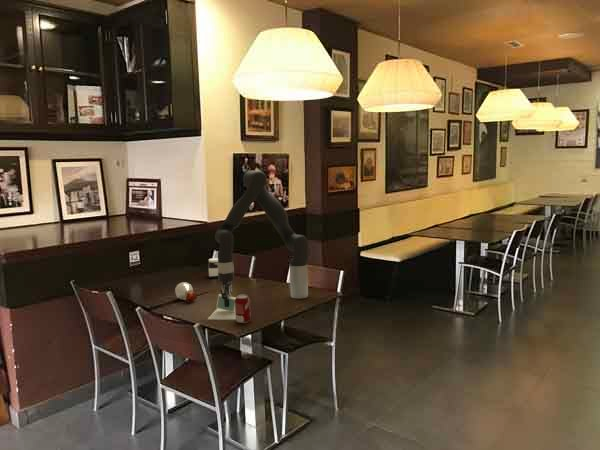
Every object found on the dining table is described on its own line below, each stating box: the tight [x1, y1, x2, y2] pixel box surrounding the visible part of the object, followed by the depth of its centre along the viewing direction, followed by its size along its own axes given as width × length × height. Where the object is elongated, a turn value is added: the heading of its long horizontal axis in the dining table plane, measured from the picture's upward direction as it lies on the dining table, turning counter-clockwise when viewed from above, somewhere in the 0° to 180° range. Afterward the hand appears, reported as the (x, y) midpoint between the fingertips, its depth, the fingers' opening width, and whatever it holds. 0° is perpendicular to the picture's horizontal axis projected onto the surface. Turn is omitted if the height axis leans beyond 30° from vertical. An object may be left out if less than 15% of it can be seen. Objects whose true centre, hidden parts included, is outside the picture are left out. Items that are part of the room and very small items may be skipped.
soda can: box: [235, 294, 252, 324], centre depth 222 cm, size 7×7×12 cm
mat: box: [207, 308, 236, 321], centre depth 234 cm, size 16×14×1 cm
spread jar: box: [208, 257, 218, 279], centre depth 310 cm, size 12×11×12 cm
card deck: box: [215, 293, 236, 312], centre depth 237 cm, size 2×9×6 cm, turn 83°
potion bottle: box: [174, 281, 197, 304], centre depth 261 cm, size 9×10×15 cm
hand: (227, 305), depth 237 cm, fingers closed on card deck, 2 cm apart
